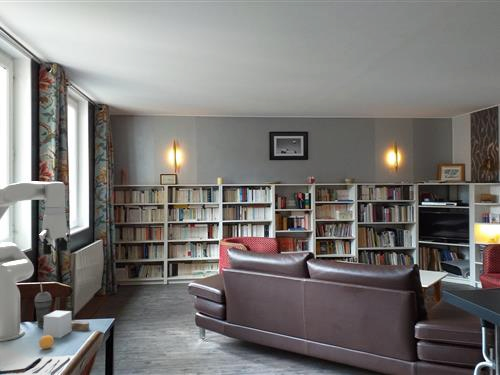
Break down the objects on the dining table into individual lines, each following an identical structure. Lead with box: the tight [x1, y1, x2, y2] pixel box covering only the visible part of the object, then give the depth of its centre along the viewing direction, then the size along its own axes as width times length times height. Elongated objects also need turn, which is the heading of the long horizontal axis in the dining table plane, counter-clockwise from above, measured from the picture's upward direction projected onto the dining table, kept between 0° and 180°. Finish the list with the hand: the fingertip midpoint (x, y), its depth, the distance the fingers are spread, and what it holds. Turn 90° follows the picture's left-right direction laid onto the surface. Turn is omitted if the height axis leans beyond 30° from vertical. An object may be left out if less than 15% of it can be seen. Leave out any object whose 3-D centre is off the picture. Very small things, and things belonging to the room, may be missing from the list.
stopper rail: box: [72, 320, 90, 331], centre depth 171 cm, size 10×2×3 cm, turn 78°
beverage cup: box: [34, 281, 53, 328], centre depth 176 cm, size 7×7×20 cm
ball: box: [39, 335, 55, 350], centre depth 151 cm, size 5×5×5 cm
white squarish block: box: [43, 310, 73, 339], centre depth 166 cm, size 8×8×9 cm
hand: (55, 252), depth 159 cm, fingers open, 9 cm apart
